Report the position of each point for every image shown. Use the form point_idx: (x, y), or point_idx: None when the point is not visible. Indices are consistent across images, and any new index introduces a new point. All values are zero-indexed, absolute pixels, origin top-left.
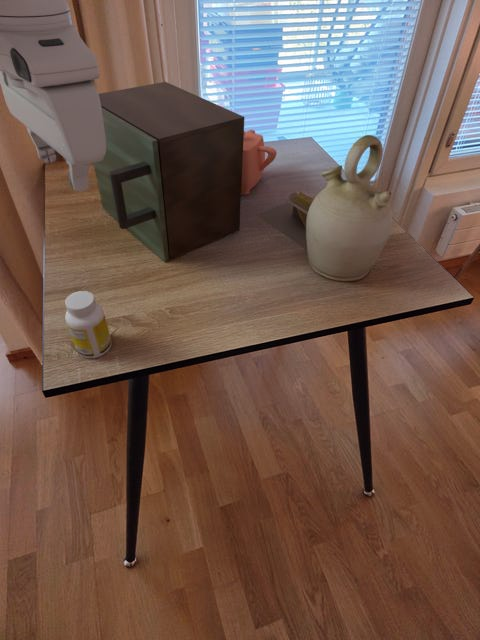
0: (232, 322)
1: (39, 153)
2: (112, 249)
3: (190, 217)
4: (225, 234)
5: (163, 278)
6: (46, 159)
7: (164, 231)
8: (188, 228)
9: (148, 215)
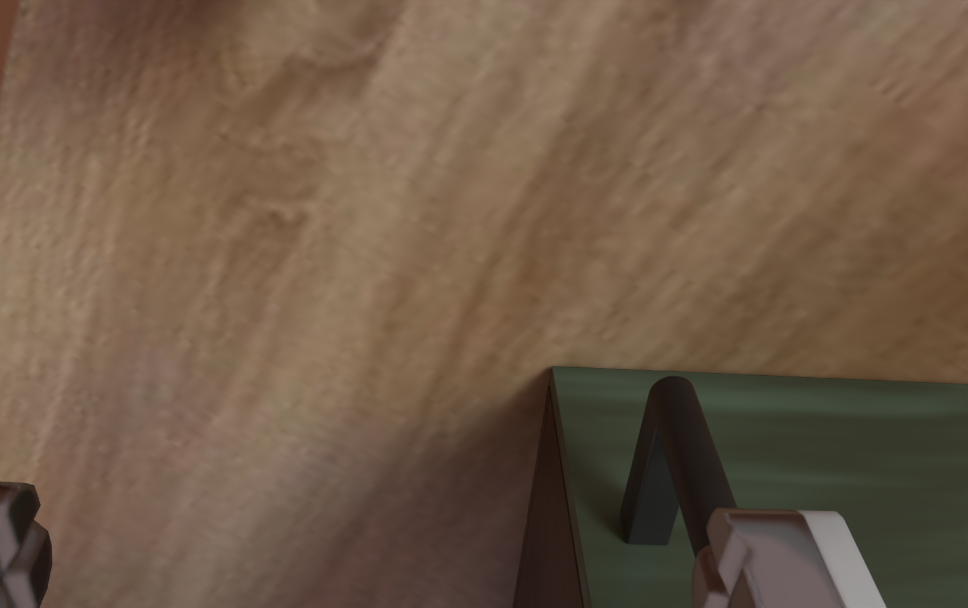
0: (87, 339)
1: (804, 572)
2: (799, 268)
3: (550, 591)
4: (517, 587)
5: (473, 308)
6: (718, 551)
7: (567, 479)
8: (546, 543)
9: (630, 506)
